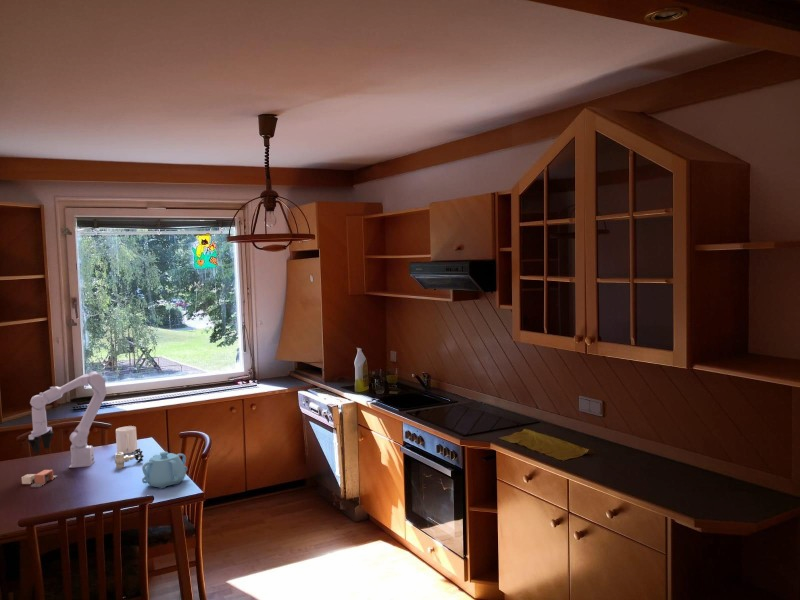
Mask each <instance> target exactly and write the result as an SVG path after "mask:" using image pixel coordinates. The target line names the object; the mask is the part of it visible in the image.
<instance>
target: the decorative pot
mask: <svg viewBox="0 0 800 600" xmlns="http://www.w3.org/2000/svg"><path fill="white" fill-rule="evenodd" d="M180 457H182V459H181V458H180ZM186 461H187V457H186V455H185V454H184V453H177V454H176V453H172V452H170V453H169V452H168V451H161V452H160V453H159V454H154V455H152V457H150V458H149V460H148V461H147V462H144V463H143V465H142V472H143V473H142V474H143V475H144V477H142V480H141V482H142V484H147V485H149V486H152V487H154V488H159V489H160V488H162V489H165V488H166V487H167V486H172V485H179V484H180V483H181V482H182V481H184V479H185V477H186V474H187V473H186V472H187V471H188V467H187V466H186Z"/></svg>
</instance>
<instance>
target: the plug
mask: <svg viewBox="0 0 800 600" xmlns="http://www.w3.org/2000/svg"><path fill="white" fill-rule="evenodd" d="M36 474H37V473H27V474H25V475H23V476H21V484H22V485H32V484H34V483H35V477H34V475H36ZM47 481H48V482H49V481H50V480H49V476H48V475H45V484H47V483H48V482H47ZM31 483H32V484H31Z"/></svg>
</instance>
